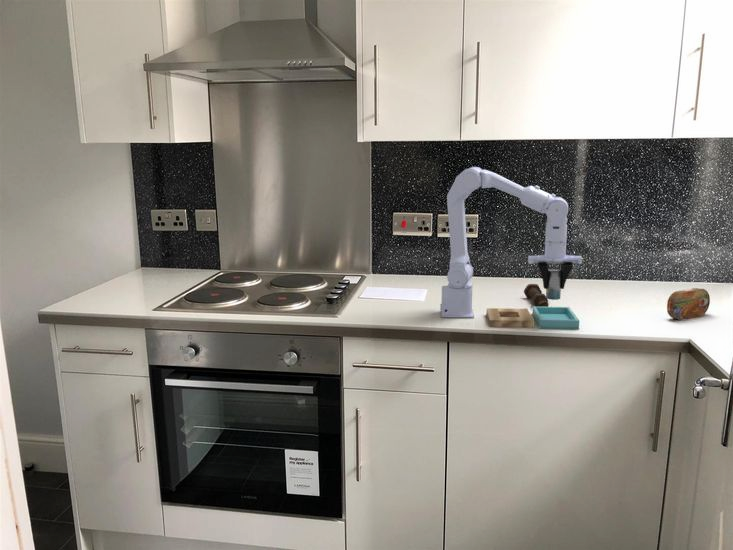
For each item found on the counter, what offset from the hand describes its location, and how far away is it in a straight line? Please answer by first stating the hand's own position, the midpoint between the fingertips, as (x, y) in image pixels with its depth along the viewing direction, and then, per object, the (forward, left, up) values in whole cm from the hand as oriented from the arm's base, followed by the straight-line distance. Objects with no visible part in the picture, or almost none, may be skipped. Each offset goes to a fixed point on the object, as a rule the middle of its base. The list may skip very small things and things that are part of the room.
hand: (553, 288), depth 178 cm
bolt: (-1, +19, -11) cm, 21 cm away
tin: (+40, +7, -10) cm, 42 cm away
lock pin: (0, 0, -3) cm, 3 cm away
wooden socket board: (-12, 0, -10) cm, 16 cm away
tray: (+1, 0, -10) cm, 10 cm away
